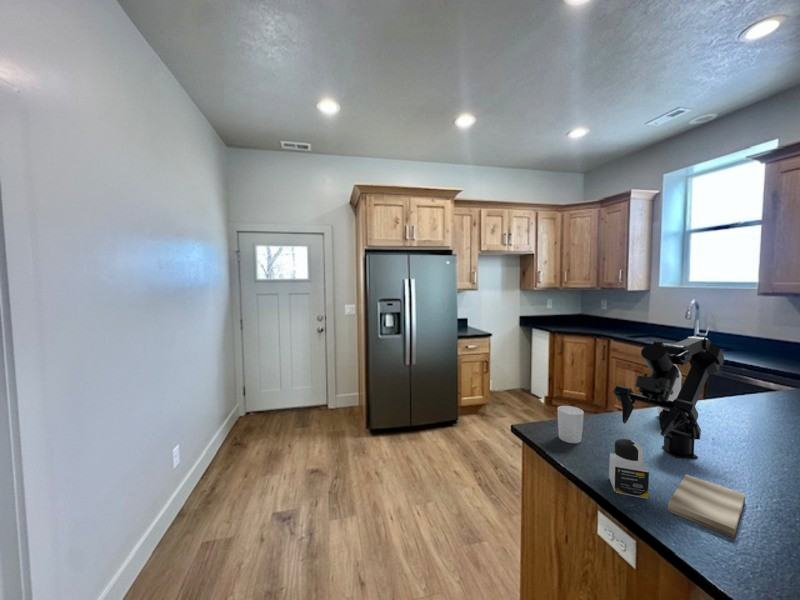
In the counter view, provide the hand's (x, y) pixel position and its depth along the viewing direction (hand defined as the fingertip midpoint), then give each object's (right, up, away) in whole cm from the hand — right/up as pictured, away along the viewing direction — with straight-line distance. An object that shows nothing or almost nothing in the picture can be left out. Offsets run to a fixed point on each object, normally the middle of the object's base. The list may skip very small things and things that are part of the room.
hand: (642, 428), depth 92 cm
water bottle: (+40, -11, +41) cm, 58 cm away
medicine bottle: (-7, -14, -5) cm, 16 cm away
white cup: (-8, -12, +23) cm, 27 cm away
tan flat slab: (+7, -14, -12) cm, 19 cm away
